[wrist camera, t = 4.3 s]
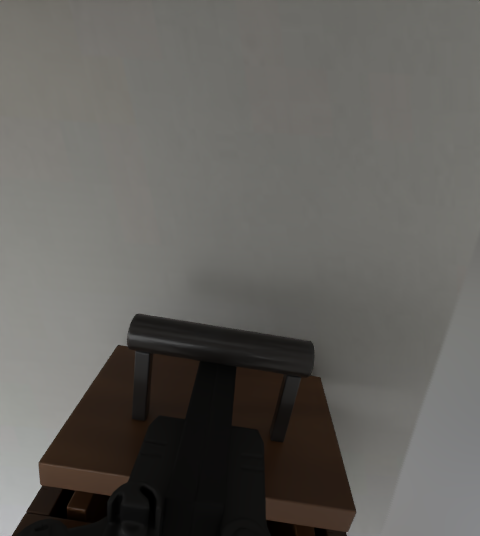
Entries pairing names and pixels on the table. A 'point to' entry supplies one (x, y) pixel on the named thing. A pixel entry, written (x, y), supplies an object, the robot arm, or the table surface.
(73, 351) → the table surface
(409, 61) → the table surface
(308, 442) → the drawer
